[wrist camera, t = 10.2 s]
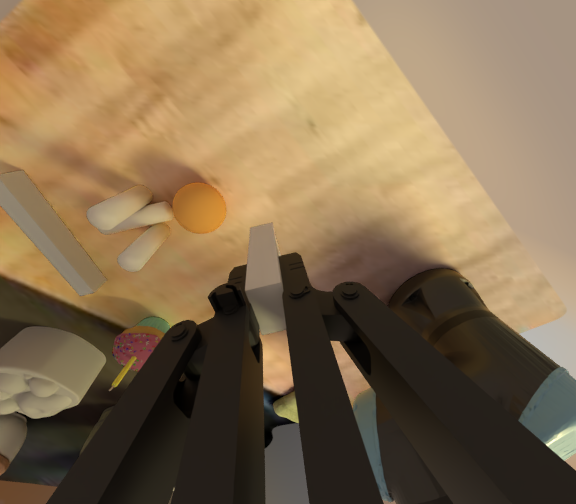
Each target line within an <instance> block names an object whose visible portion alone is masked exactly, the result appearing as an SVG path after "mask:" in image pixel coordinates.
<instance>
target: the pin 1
mask: <svg viewBox="0 0 576 504" xmlns="http://www.w3.org/2000/svg"><path fill="white" fill-rule="evenodd" d="M151 201H152V193H151V191H150V190H149V189H148V188H147V187H145V186H142V185H136V186H134V187H132V188H130V189H128V190H126V191H124V192H121V193H119V194H117V195H115V196H113V197H111V198H109V199H107V200H105V201H103V202H100V203H98V204H96V205H94V206H92V207H90V208H89V209H88V210H87V218H88V220H89V222H90V223H91V224H92V225H93V226H95V227H96V228H98V229H102V230H110V229H112V228H114V227H115V226H116V225H118V224H119V223H121V222H122V221H124V220H125V219H127V218H128V217H129V216H131V215H132V214H134V213H135V212H137V211H138V210H140V209H141V208H142V207H144V206H145V205H147V204H148V203H150V202H151Z"/></svg>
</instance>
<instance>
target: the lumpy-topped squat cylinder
mask: <svg viewBox="0 0 576 504" xmlns="http://www.w3.org/2000/svg"><path fill="white" fill-rule="evenodd" d="M105 363H106V357H105V356H104V354H103V353H102V352H101V351H99V350H98V349H97V348H96V347H94V346H93V345H92V344H90V343H89V342H87V341H86V340H84V339H82V338H81V337H79V336H77V335H75V334H73V333H70V332H67V331H63V330H60V329H56V328H51V327H42V326H32V327H27V328H25V329H23V330H22V331H20V332H19V333H18V334H17V335H16V336H15V337H13V338H12V339H11V340H10V341H9V342H8V343H6V344H5V345H4V346H3V347H2V348H1V349H0V414H1V415H5V414H10V413H13V412H15V411H17V412H19V413H22V414H25V415H27V416H28V417H30V418H34V419H37V418H42V417H49V416H53V415H55V414H57V413H58V412H60V411H61V410H64V409H67V408H71V407H74V406H76V405H78V404H79V403H80V401H81V400H82V398H83V397H84V395H85V394H86V392H87V391H88V389H89V387H90V386H91V384H92V383H93V381H94V380H95V378H96V377H97V375H98V374H99V372H100V371H101V369H102V367H103V366H104V364H105Z"/></svg>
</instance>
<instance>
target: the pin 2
mask: <svg viewBox="0 0 576 504" xmlns="http://www.w3.org/2000/svg"><path fill="white" fill-rule="evenodd" d="M169 235H170V228H169V227H168V225H166V224H165V223H162V222H160V223H156V224H153V225H152V226H151V227H150V228H148V229H147V230H146V231H145V232H144V233H143V234H142V235H141V236H140V237H139V238H137V239H136V240H135V241H134V242H133V243H132V244H131V245H130V246H129V247H127V248H126V249H125V250H124V251H123V252H122V253H121V254H120V255H119V256H118V259H117V260H118V263H119V265H120V266H121V267H122V268H123V269H125V270H127V271H131V272H136V271H139V270H140V269H141V268H142V267H143V266H144V265H145V264H146V262H147V261H148V260H149V259H150V258H151V257H152V255H153V254H154V253H155V252H156V251H157V249H158V248H159V247H160V246H161V245H162V243H163V242H164V241H165V240H166V239H167V237H168V236H169Z"/></svg>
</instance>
